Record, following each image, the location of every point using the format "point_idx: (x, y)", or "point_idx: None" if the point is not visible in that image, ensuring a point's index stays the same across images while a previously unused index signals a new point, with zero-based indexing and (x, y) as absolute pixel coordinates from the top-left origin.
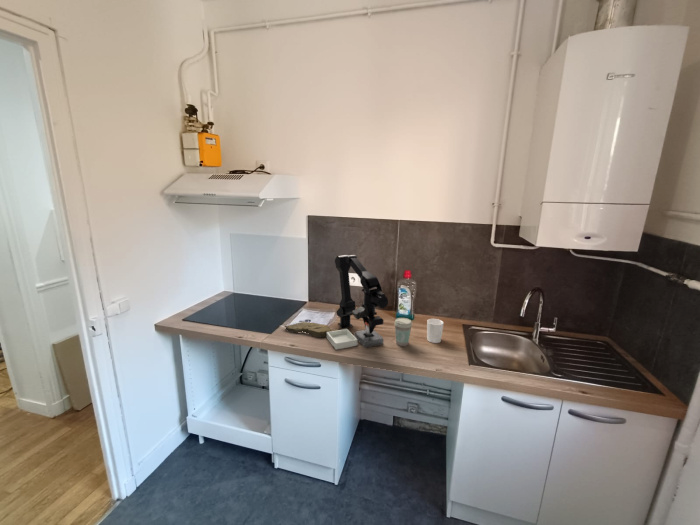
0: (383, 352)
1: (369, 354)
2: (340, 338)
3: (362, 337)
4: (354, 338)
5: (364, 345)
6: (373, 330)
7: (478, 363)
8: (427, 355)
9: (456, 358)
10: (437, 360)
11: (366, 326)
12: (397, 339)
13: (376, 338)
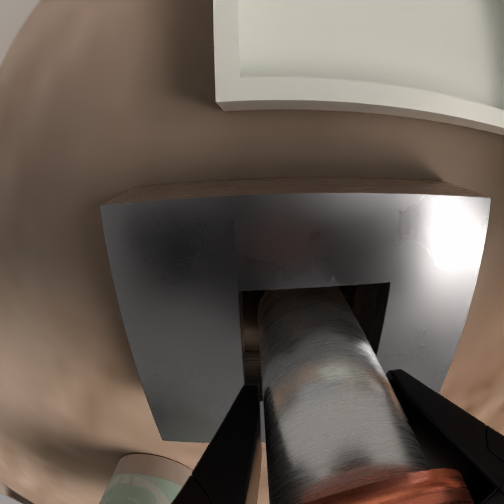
0: (28, 322)
1: (5, 186)
2: (445, 2)
3: (270, 227)
4: (302, 80)
5: (139, 190)
6: None
7: (18, 499)
8: (32, 466)
9: (32, 495)
10: (4, 460)
11: (342, 449)
12: (129, 486)
13: (172, 391)
